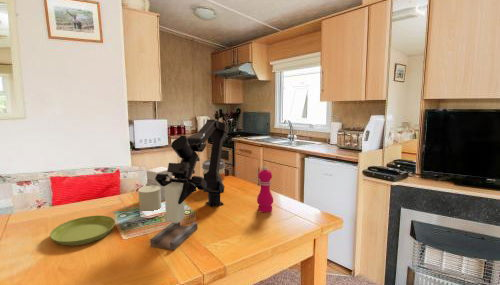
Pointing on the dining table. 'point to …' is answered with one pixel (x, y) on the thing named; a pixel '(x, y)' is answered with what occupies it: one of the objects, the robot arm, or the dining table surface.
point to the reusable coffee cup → (221, 168)
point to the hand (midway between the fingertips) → (172, 203)
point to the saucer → (82, 230)
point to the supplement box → (152, 182)
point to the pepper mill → (265, 191)
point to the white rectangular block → (174, 202)
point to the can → (149, 198)
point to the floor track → (173, 236)
